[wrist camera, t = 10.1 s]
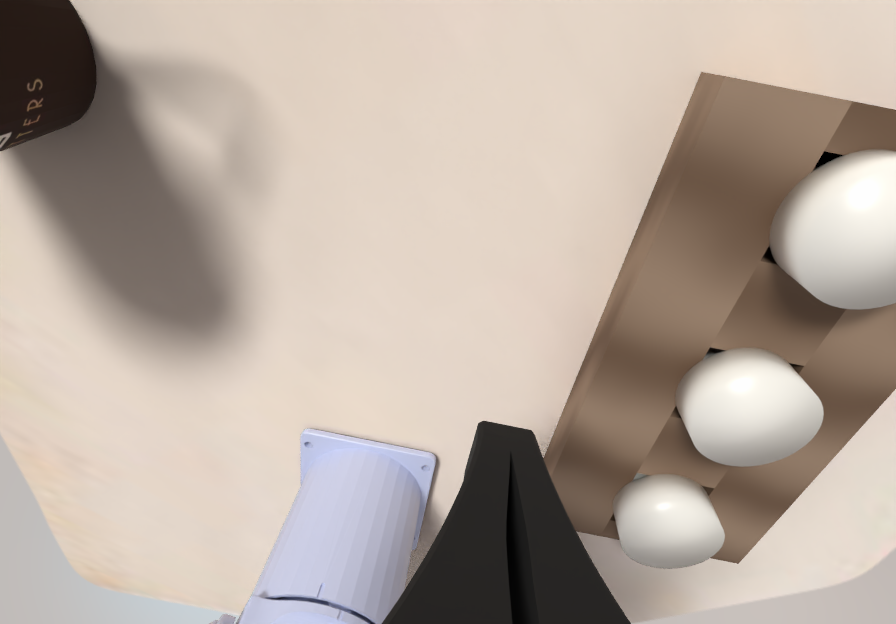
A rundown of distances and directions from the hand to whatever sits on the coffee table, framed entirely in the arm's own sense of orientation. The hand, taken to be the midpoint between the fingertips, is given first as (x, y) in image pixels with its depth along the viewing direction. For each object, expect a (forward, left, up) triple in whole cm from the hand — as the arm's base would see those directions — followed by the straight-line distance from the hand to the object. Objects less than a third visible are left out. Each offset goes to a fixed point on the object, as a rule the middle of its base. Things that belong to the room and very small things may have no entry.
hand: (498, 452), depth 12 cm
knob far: (-10, -11, -10) cm, 18 cm away
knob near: (+5, -11, -10) cm, 16 cm away
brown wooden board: (-2, -11, -10) cm, 15 cm away
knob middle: (-3, -11, -10) cm, 15 cm away
